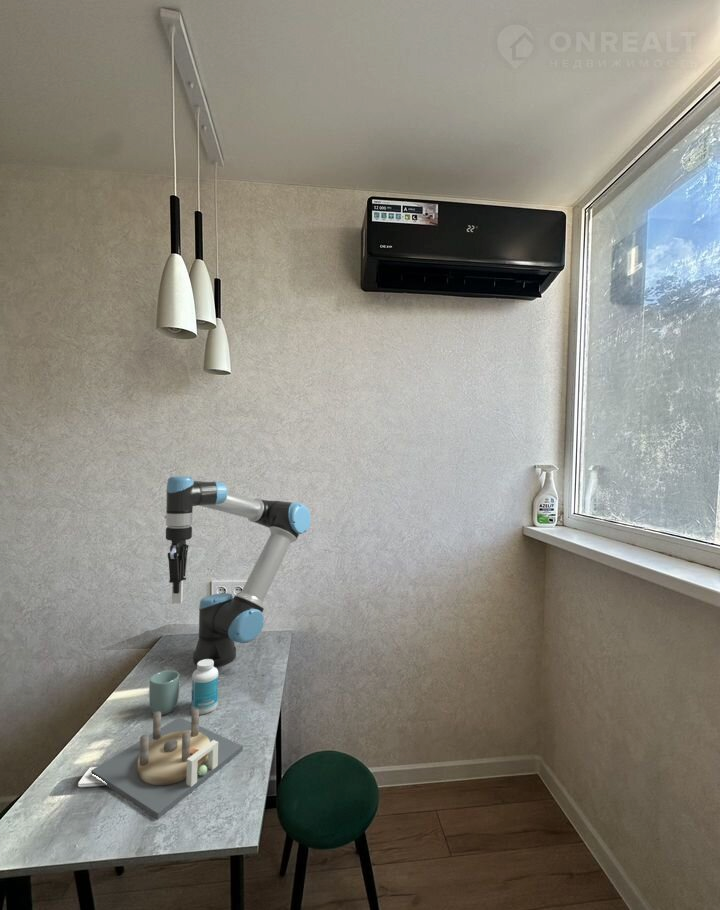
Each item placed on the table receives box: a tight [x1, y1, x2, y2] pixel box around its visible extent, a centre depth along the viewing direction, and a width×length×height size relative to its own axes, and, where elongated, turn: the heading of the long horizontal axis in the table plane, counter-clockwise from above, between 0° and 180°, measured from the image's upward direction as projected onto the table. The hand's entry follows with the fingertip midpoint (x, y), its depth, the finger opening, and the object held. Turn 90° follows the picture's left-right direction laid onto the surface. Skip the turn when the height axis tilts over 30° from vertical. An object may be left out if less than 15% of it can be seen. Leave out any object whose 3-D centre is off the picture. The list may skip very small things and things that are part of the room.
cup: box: [148, 669, 180, 716], centre depth 125 cm, size 8×8×10 cm
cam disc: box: [138, 709, 210, 785], centre depth 103 cm, size 17×16×8 cm
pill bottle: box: [190, 659, 219, 715], centre depth 126 cm, size 8×7×14 cm
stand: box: [90, 716, 244, 820], centre depth 104 cm, size 24×24×7 cm
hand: (177, 602), depth 132 cm, fingers closed
